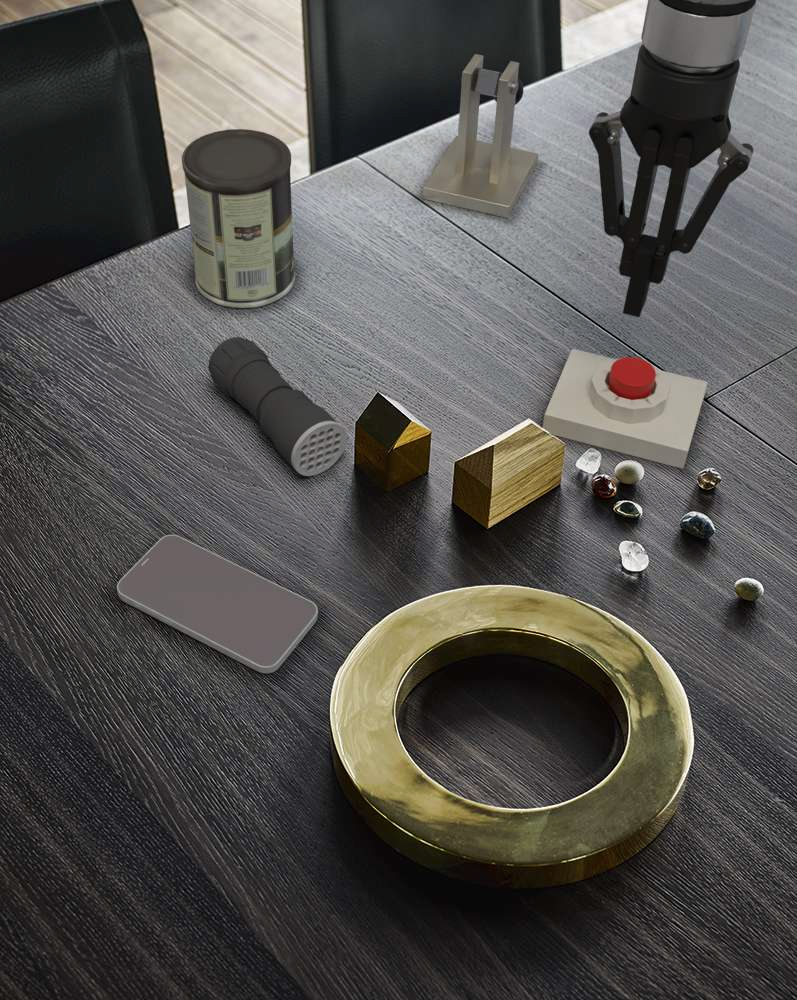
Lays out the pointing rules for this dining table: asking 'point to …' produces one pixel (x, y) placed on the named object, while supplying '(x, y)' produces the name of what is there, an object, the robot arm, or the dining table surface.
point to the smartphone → (218, 603)
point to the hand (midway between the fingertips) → (634, 306)
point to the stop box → (625, 411)
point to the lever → (494, 84)
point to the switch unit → (483, 153)
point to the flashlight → (278, 407)
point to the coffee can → (240, 217)
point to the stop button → (631, 378)
